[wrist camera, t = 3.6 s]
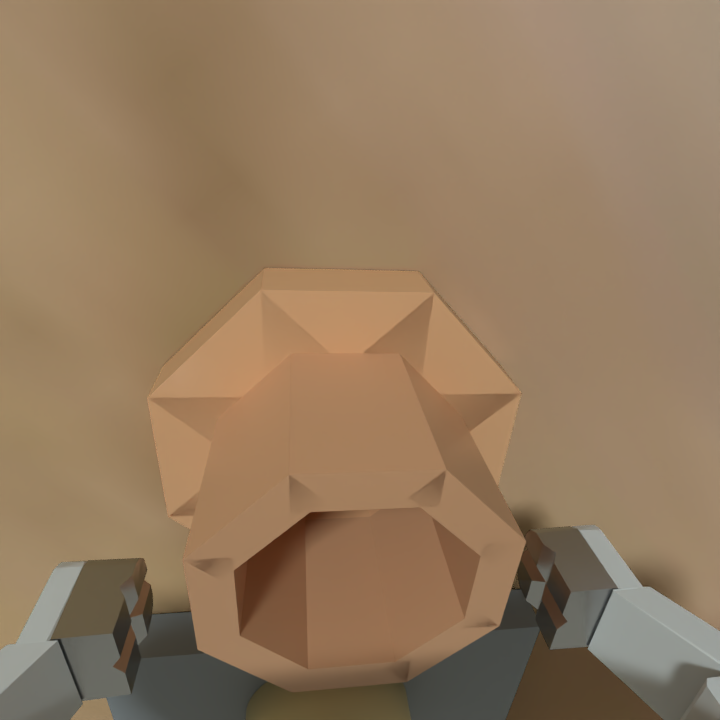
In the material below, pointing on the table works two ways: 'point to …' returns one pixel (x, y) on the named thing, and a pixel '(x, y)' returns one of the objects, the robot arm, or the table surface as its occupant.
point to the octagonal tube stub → (338, 478)
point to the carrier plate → (229, 685)
